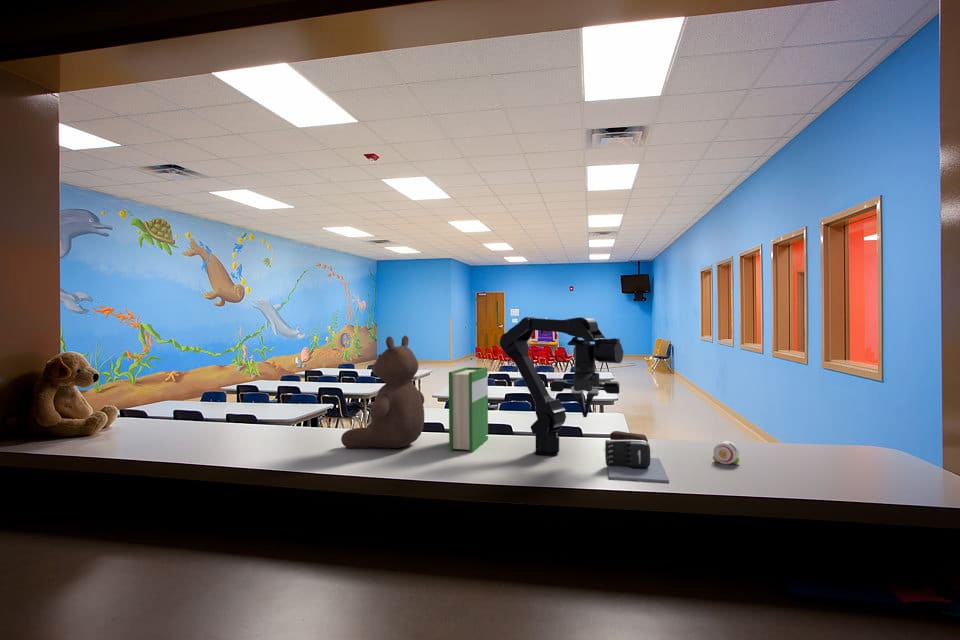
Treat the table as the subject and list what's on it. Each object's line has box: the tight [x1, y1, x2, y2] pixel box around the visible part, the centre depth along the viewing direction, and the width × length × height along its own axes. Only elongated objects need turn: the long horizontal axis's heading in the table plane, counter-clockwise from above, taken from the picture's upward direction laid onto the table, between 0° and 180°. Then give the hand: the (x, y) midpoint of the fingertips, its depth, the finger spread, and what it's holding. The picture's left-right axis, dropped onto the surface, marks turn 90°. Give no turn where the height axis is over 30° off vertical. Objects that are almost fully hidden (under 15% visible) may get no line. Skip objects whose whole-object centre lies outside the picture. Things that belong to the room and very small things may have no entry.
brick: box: [609, 430, 649, 443], centre depth 153 cm, size 11×4×5 cm, turn 59°
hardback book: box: [448, 366, 489, 454], centre depth 159 cm, size 18×7×24 cm, turn 164°
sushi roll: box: [712, 440, 740, 465], centre depth 136 cm, size 4×6×6 cm
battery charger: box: [604, 439, 651, 469], centre depth 131 cm, size 7×4×11 cm
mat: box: [607, 457, 670, 483], centre depth 131 cm, size 14×20×1 cm
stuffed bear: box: [340, 335, 425, 449], centre depth 160 cm, size 29×23×35 cm
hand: (585, 417), depth 141 cm, fingers closed
